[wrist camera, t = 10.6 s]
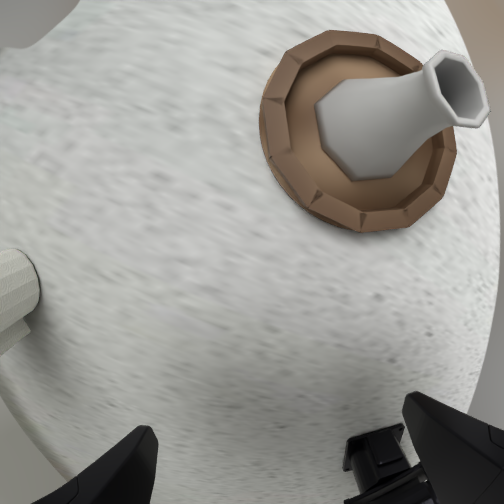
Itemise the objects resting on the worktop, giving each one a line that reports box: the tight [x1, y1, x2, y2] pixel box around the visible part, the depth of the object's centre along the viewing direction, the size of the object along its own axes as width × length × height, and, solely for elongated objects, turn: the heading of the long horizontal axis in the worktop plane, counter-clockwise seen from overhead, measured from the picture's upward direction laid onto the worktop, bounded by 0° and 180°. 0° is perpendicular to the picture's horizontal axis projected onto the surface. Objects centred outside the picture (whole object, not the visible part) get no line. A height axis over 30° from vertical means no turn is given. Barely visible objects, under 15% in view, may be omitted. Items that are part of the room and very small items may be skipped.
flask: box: [314, 50, 491, 181], centre depth 12 cm, size 7×7×10 cm
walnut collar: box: [259, 30, 457, 233], centre depth 16 cm, size 14×14×2 cm
